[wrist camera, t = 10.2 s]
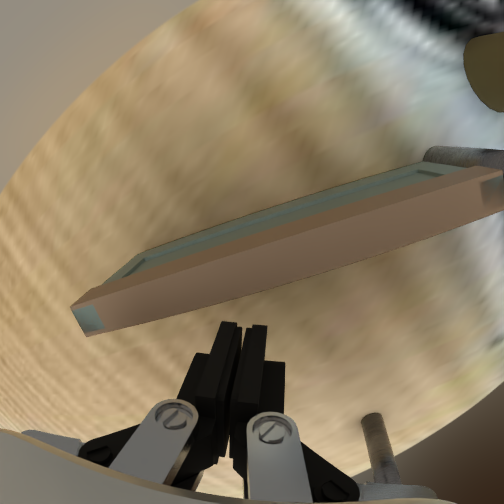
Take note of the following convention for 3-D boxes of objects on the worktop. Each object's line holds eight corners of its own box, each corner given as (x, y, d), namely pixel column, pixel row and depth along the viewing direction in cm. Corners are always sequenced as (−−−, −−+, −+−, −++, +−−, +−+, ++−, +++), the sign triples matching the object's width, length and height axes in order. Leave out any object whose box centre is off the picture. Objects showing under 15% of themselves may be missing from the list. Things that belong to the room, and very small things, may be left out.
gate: (422, 158, 17) (502, 169, 9) (428, 183, 17) (507, 208, 9) (136, 251, 20) (69, 307, 12) (146, 273, 20) (86, 337, 13)
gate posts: (454, 149, 17) (552, 161, 8) (380, 425, 25) (401, 506, 16) (424, 142, 17) (520, 147, 8) (356, 427, 25) (373, 511, 16)
